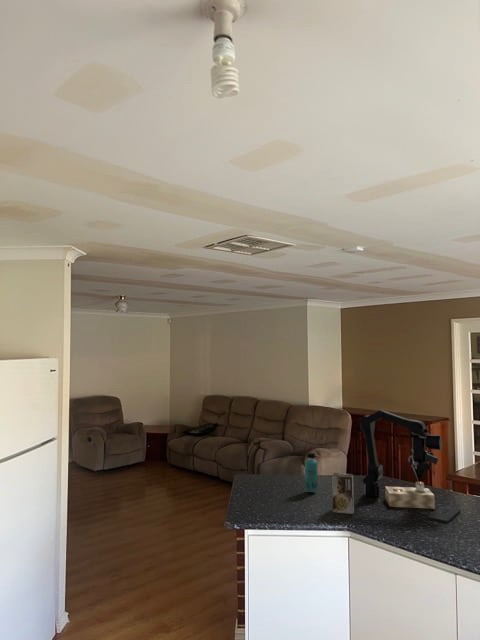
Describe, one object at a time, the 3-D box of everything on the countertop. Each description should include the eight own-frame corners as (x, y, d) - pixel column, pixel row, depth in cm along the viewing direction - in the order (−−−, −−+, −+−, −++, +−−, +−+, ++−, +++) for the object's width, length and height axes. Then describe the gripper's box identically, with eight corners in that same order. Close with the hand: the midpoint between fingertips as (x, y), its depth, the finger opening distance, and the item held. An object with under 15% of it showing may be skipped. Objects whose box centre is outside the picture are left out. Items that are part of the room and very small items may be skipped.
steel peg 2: (417, 495, 220) (416, 483, 221) (415, 493, 224) (414, 481, 224) (424, 496, 220) (424, 483, 220) (423, 493, 223) (422, 481, 224)
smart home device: (461, 509, 210) (447, 520, 195) (461, 513, 210) (447, 525, 195) (441, 505, 216) (427, 516, 200) (442, 509, 216) (427, 520, 200)
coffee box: (354, 510, 212) (353, 473, 213) (353, 514, 206) (352, 477, 207) (334, 507, 215) (333, 472, 216) (332, 512, 209) (331, 475, 210)
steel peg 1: (395, 503, 221) (394, 491, 222) (393, 501, 225) (393, 489, 225) (403, 503, 221) (402, 491, 221) (401, 501, 224) (401, 489, 225)
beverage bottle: (303, 491, 242) (303, 451, 244) (316, 490, 243) (315, 451, 244) (306, 494, 236) (306, 454, 237) (319, 494, 236) (318, 454, 238)
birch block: (389, 506, 217) (389, 493, 218) (385, 498, 229) (385, 486, 230) (434, 508, 215) (434, 495, 215) (428, 500, 226) (427, 488, 227)
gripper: (442, 452, 213) (442, 487, 212) (431, 444, 232) (431, 477, 230) (416, 451, 215) (417, 486, 213) (407, 444, 233) (408, 476, 232)
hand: (419, 481), depth 222 cm, fingers closed
